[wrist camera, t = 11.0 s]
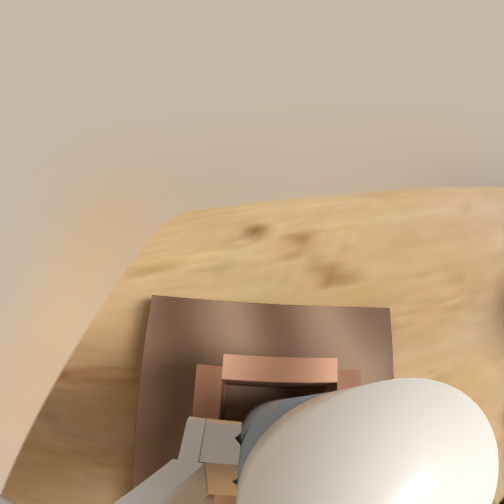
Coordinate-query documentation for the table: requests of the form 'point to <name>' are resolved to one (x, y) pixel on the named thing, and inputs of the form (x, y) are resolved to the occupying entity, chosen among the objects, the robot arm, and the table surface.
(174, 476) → the robot arm
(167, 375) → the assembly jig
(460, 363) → the table surface
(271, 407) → the white-capped blue cylinder
